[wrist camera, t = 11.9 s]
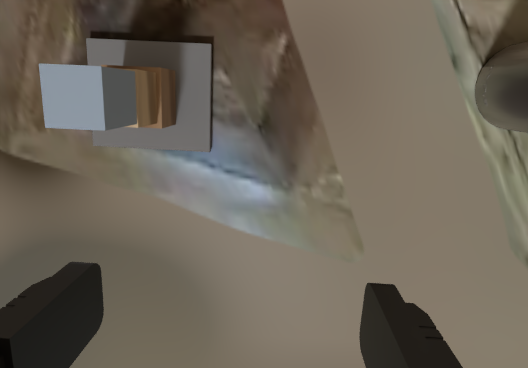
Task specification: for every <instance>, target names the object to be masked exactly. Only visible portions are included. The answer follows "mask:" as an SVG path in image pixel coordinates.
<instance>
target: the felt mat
mask: <svg viewBox="0 0 528 368" xmlns="http://www.w3.org/2000/svg"><path fill="white" fill-rule="evenodd" d="M86 43H87V59H88V66H101V65H118V66H139V67H160V68H165V69H170V70H175V95H176V125H173V126H169V127H166V128H162V129H161V128H143V127H139V128H133V127H120V128H116V129H111V130H106V131H102V130H92V135H93V145H94V146H112V147H130V148H147V149H165V150H182V151H200V152H210V151H211V82H212V44H203V43H181V42H159V41H137V40H115V39H93V38H86Z"/></svg>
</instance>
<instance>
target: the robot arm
mask: <svg viewBox="0 0 528 368" xmlns="http://www.w3.org/2000/svg"><path fill="white" fill-rule="evenodd" d="M475 98H476V104H477V106H478V109H479V111H480V113H481V114H482V116H483V117H484V118H485V119H486V120H487V121H488V122H489V123H491V124H493V125H495V126H496V127H499V128H503V129H507V130H514V131H520V132H526V133H528V42H524V43H519V44H515V45H512V46H509V47H506V48H504V49H503V50H501V51H499V52H498V53H496V54H495V55H494V56H493V57H492V58H491V59H489V60H488V62H487V63H486V64H485V66H484V67H483V68H482V70H481V72H480V74H479V76H478V80H477V83H476V89H475ZM103 308H104V307H103V292H102V277H101V268H100V266H99V265H98V264H97V263H84V262H70V263H68V264H67V265H66V266H65V267H63V268H62V269H61V270H60V271H58V272H57V273H56V274H54V275H53V276H52V277H49V278H46V279H44V280H42V281H40V282H38V283H36V284H33V285H31V286H30V287H29V288H27V289H26V290H25V291H23V292H22V293H21V294H20V295H18V298H14V299H13V300H12V301H10V302H9V303H8V304H6V307H2V308H1V309H0V368H69V367H70V366H71V365H72V363H73V362H74V361H75V360H76V358H77V357H78V356H79V354H80V353H81V352H82V351H83V349H84V348H85V347H86V345H87V344H88V343H89V341H90V340H91V339H92V338H93V336H94V335H95V334H96V333H97V331H98V329H99V327H100V325H101V322H102V318H103V310H104V309H103ZM360 348H361V353H362V356H363V360H364V363H365V366H366V368H463V367H462V366H461V364H460V363H459V361H458V360H457V358H456V357H455V355H454V354H453V352H452V351H451V349H450V347H449V346H448V345H447V343H446V341H443V337H442V336H441V334H440V333H439V331H438V330H436V326H435V325H434V323H433V322H432V320H431V319H430V317H429V316H428V314H427V313H425V312H424V311H423V310H421V309H420V308H419V307H418V306H416V305H415V304H413V303H405V302H404V300H403V298H402V297H401V295H400V293H399V291H398V290H397V288H396V287H395V285H393V284H379V283H367V285H366V288H365V294H364V302H363V310H362V317H361V325H360Z"/></svg>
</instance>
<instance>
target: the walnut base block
mask: <svg viewBox="0 0 528 368" xmlns="http://www.w3.org/2000/svg"><path fill="white" fill-rule="evenodd" d="M101 66H103V67H109V68H120V69H137V70H143V71H149V72H155V73H156V100H157V124H152V125H148V126H144V127H143V128H161V129H162V128H166V127H169V126H173V125H176V95H175V70H170V69H165V68H160V67H139V66H118V65H101Z"/></svg>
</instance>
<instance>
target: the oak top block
mask: <svg viewBox="0 0 528 368" xmlns="http://www.w3.org/2000/svg"><path fill="white" fill-rule="evenodd" d="M116 69H120V68H116ZM123 70H129V71H135V86H136V111H137V124H135V125H130V126H125V127H133V128H139V127H144V126H148V125H152V124H157V100H156V73H155V72H149V71H143V70H137V69H123Z"/></svg>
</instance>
